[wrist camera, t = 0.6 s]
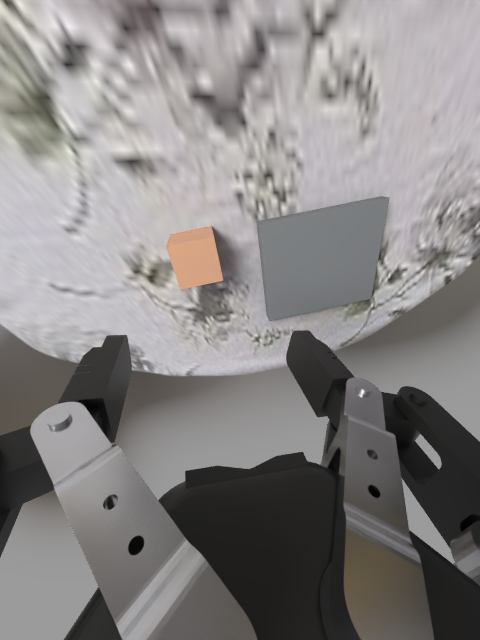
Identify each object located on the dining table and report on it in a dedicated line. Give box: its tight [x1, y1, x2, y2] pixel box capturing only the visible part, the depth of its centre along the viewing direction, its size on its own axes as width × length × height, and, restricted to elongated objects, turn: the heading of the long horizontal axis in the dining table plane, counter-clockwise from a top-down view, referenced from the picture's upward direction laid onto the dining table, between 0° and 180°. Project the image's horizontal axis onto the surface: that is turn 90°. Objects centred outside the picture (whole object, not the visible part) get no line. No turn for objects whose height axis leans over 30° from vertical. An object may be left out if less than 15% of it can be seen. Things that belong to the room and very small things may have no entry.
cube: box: [166, 226, 223, 290], centre depth 28 cm, size 5×5×5 cm
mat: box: [257, 196, 389, 321], centre depth 32 cm, size 16×14×2 cm
